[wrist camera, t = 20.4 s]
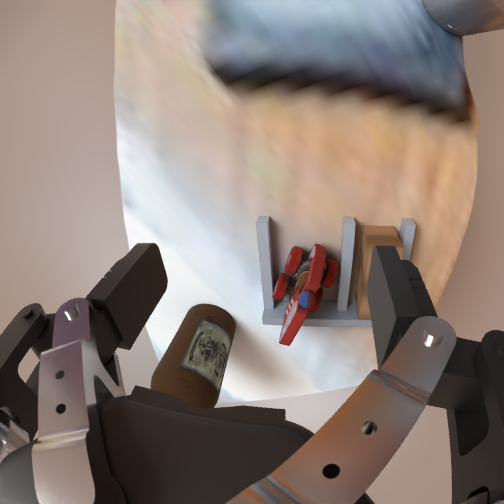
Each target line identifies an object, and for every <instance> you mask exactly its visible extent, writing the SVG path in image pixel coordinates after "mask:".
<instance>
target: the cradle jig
mask: <svg viewBox="0 0 504 504" xmlns="http://www.w3.org/2000/svg"><path fill="white" fill-rule="evenodd" d="M355 224H356V223H355V220H354V217H343V225H342V243H341V257H340V270H339V282H338V292H337V302H336V303H332V302H320V305H319V307H318V308H317V310H316V311H315V312H310V311H308V314H307V317H306V319H305V320H304V322H303V324H302V325H301V326H324V327H372V321H371V320H358V315H357V307H356V303H347V302H348V295H349V287H350V278H351V269H352V260H353V249H354V238H355ZM256 227H257V238H258V248H259V258H260V269H261V279H262V290H263V301H264V312H263V317H262V319H263V324H267V325H283V321H284V316H285V310H286V305H287V302H288V301H275V300H274V299H273V298H272V294H273V290H274V275H273V260H272V246H271V232H270V218H269V217H258V219H257V222H256ZM415 227H416V225H415V223H414V222H413V220H412V219H402V222H401V229H400V236H399V239H400V241H401V243H402V245H403V247H404V251H403V256H402V260H410V255H411V250H412V244H413V239H414V233H415Z"/></svg>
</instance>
